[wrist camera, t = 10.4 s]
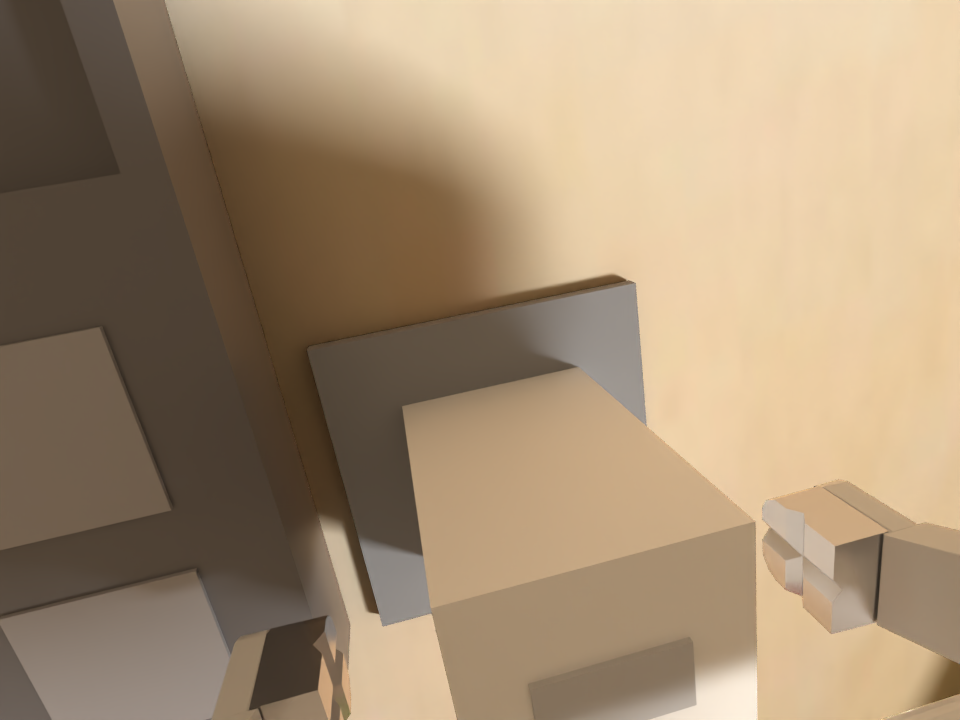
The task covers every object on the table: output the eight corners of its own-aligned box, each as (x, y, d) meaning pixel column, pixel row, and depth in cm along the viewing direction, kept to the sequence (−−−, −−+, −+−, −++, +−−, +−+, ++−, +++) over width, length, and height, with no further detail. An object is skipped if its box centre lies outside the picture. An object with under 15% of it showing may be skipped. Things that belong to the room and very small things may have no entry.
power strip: (67, -326, 9) (-120, -640, 6) (395, 776, 18) (401, 926, 14) (-442, -296, 9) (-1026, -642, 5) (154, 849, 17) (96, 1028, 13)
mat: (629, 280, 14) (635, 282, 14) (649, 544, 17) (656, 552, 16) (308, 346, 13) (306, 350, 13) (382, 616, 16) (382, 626, 16)
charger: (578, 367, 14) (760, 525, 8) (595, 518, 16) (761, 762, 9) (402, 406, 14) (431, 613, 7) (436, 559, 15) (488, 851, 9)
